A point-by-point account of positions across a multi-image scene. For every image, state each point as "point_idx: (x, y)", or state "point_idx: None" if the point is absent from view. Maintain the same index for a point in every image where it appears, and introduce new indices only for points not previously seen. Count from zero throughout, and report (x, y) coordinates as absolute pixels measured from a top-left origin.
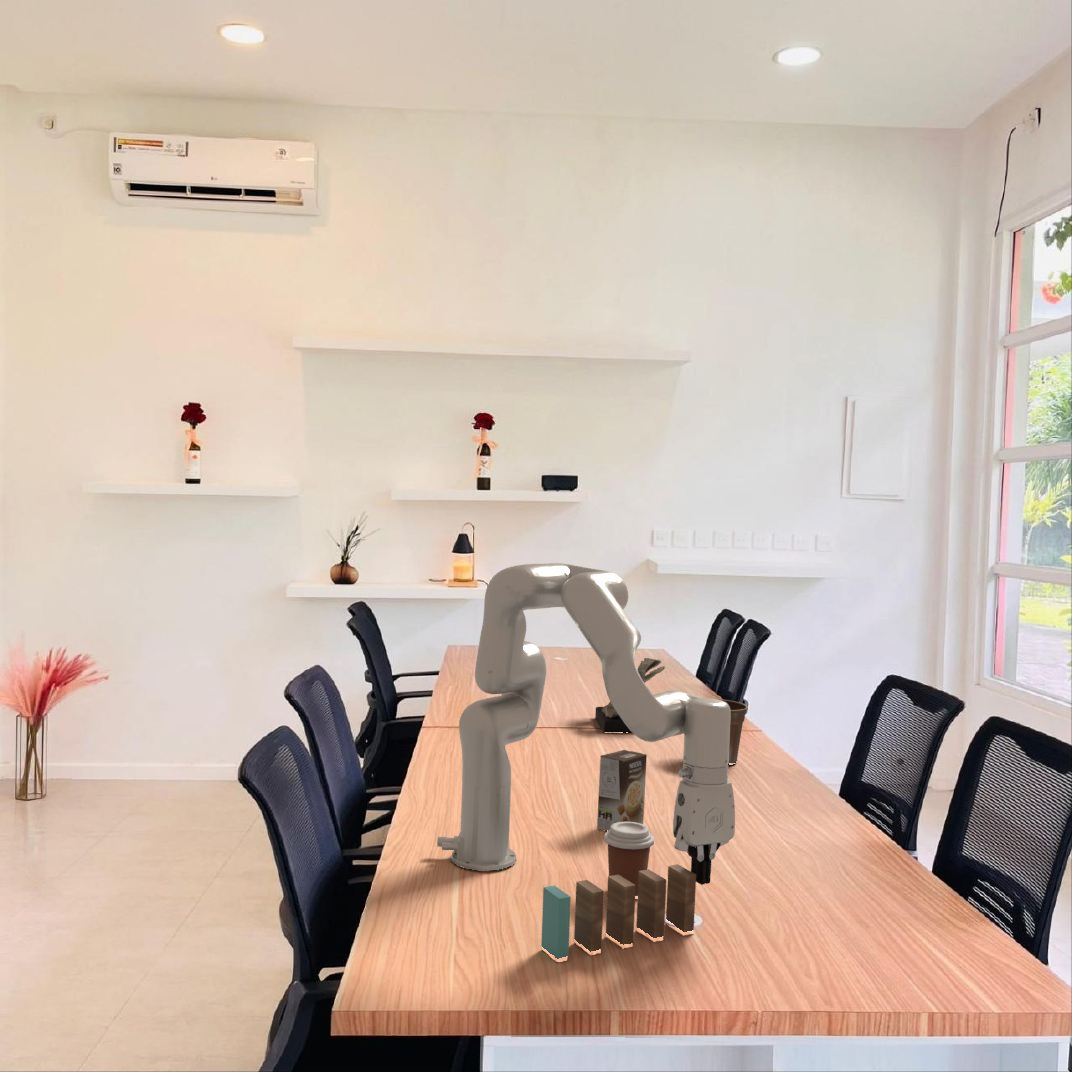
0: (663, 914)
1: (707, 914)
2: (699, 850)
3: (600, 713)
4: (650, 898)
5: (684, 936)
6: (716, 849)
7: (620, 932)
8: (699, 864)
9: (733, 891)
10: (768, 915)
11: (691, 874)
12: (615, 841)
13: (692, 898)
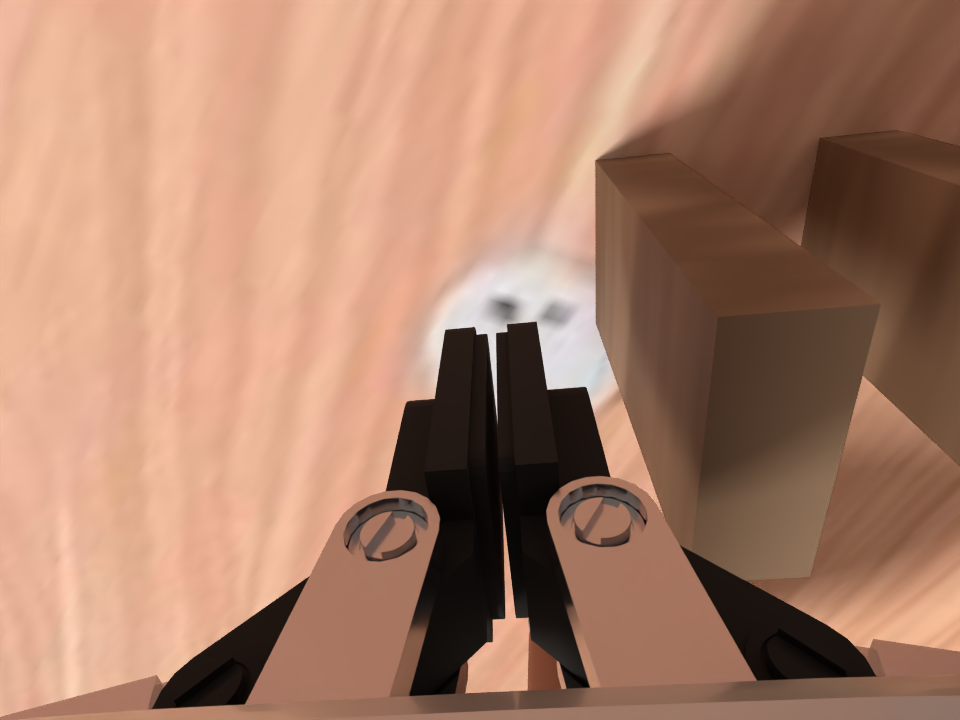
0: (936, 173)
1: (373, 358)
2: (669, 620)
3: None
4: None
5: (665, 151)
6: (263, 627)
7: None
8: (573, 473)
9: (128, 522)
10: (29, 249)
11: (772, 333)
12: None
13: (674, 224)
